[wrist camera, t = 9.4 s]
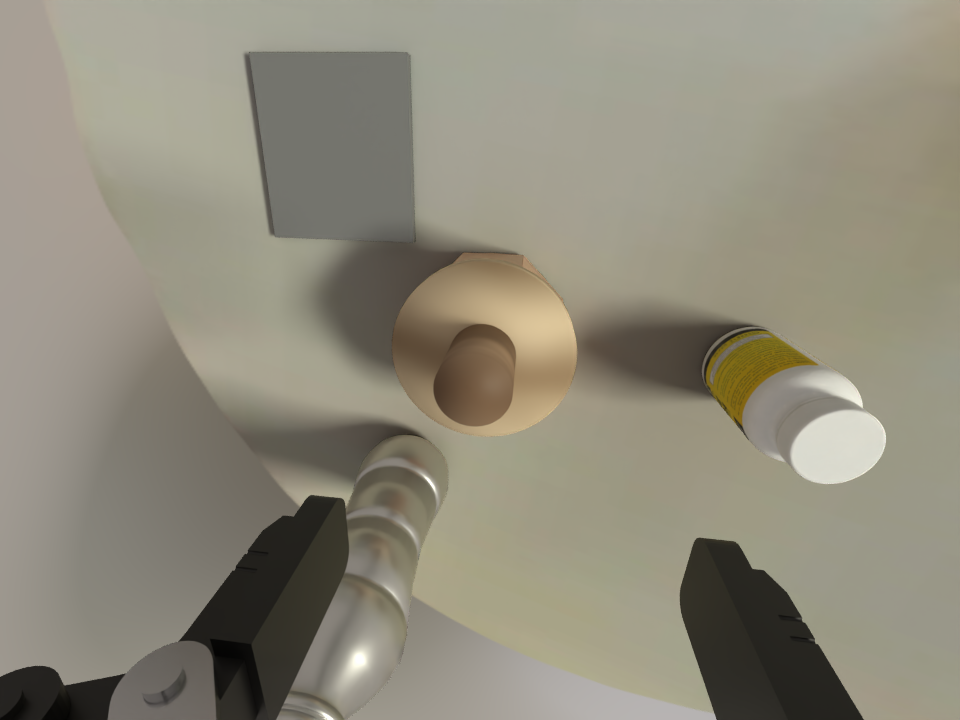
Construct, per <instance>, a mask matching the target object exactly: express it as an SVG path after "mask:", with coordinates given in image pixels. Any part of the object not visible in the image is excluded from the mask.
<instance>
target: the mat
mask: <svg viewBox="0 0 960 720" xmlns="http://www.w3.org/2000/svg"><path fill="white" fill-rule="evenodd" d="M249 56H250V64H251V71H252V78H253V85H254V92H255V99H256V106H257V113H258V120H259V127H260V134H261V142H262V149H263V156H264V163H265V170H266V177H267V184H268V191H269V198H270V205H271V213H272V220H273V227H274V234H275V237H284V238H309V239H334V240H359V241H384V242H409V243H413V242H415V210H414V174H413V139H412V103H411V67H410V55H409V54H408V53H407V52H249Z"/></svg>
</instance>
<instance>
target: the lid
mask: <svg viewBox="0 0 960 720" xmlns="http://www.w3.org/2000/svg"><path fill="white" fill-rule="evenodd" d="M392 355H393V362H394V366H395V370H396V373H397V376H398V378H399V381H400V383H401V385H402V387H403V389H404V390H405V392H406V394H407V395H408V396H409V398H410V399H411V400H412V402H413V403H414V404H415V405H416V406H417V407H418V408H419V409H420V410H421V411H422V412H423V413H425V414H426V415H427V416H428V417H429V418H431V419H432V420H434V421H436V422H437V423H439V424H441V425H443V426H445V427H447V428H449V429H451V430H454V431H457V432H460V433H464V434H468V435H474V436H491V437H492V436H502V435H507V434H512V433H516V432H518V431H521V430H524V429H526V428H528V427H531V426H533V425H535V424H536V423H538V422H539V421H541V420H542V419H544V418H545V417H546V416H547V415H548V414H550V413H551V412H552V411H553V410H554V409H555V408H556V407H557V405H558V404H559V403H560V402H561V400H562V399H563V397H564V396H565V395H566V393H567V391H568V389H569V387H570V385H571V382H572V379H573V376H574V373H575V368H576V363H577V344H576V337H575V333H574V329H573V325H572V321H571V318H570V316H569V314H568V311H567V309H566V307H565V305H564V304H563V302H562V300H561V299H560V297H559V296H558V295H557V293H556V292H555V291H554V290H553V289H552V288H551V287H550V286H549V285H548V284H547V283H546V282H545V281H544V280H543V279H541V278H540V277H539V276H537V275H536V274H535V273H533V272H531V271H529V270H527V269H526V268H524V267H521V266H519V265H516V264H514V263H510V262H506V261H502V260H496V259H471V260H465V261H461V262H457V263H454V264H451V265H449V266H446V267H444V268H442V269H440V270H438V271H437V272H435V273H434V274H432V275H431V276H429V277H428V278H427V279H426V280H425V281H424V282H422V283H421V284H420V285H419V286H418V287H417V288H416V289H415V290H414V291H413V292H412V294H411V295H410V296H409V297H408V299H407V300H406V302H405V303H404V305H403V306H402V308H401V310H400V312H399V314H398V317H397V319H396V323H395V326H394V330H393V337H392Z"/></svg>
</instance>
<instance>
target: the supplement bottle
mask: <svg viewBox="0 0 960 720" xmlns="http://www.w3.org/2000/svg"><path fill="white" fill-rule="evenodd" d="M702 377H703V381H704V383H705V385H706V387H707V389H708V390H709V392H710V393H711V395H712V396H713V397H714V398H715V399H716V401H717V402H718V403H719V404H720V405H721V407H722V408H723V409H724V410H725V411H726V413H727V414H728V415H729V416H730V418H731V419H732V420H733V421H734V422H735V423H736V425H737V426H738V427H739V428H740V430H741V431H742V432H743V433H744V435H745V436H746V437H747V439H748V440H750V442H751V443H752V444H753V445H754V446H755V447H756V448H757V449H758V450H760V451H761V452H762V453H764V454H765V455H767V456H769V457H771V458H774V459H776V460H779V461H784V462H787V463H788V464H789V465H790V466H791V467H792V468H793V470H794V471H795V472H796V473H797V474H799V475H800V476H801V477H803V478H805V479H807V480H809V481H812V482H815V483H822V484H836V483H841V482H846V481H849V480H852V479H854V478H856V477H858V476H860V475H862V474H864V473H865V472H867V471H868V470H869V469H870V468H871V467H873V466H874V465H875V463H876V462H877V461H878V460H879V458H880V457H881V455H882V453H883V451H884V448H885V444H886V434H885V431H884V428H883V426H882V425H881V423H880V422H879V421H878V420H877V419H876V418H875V417H874V416H873V415H871V414H870V413H869V412H867V411H866V410H865V409H863V404H862V399H861V397H860V394H859V392H858V390H857V389H856V387H855V386H854V385H853V384H852V383H851V382H850V381H849V380H848V379H847V378H846V377H844V376H843V375H842V374H840V373H839V372H837V371H836V370H834V369H833V368H831V367H829V366H828V365H826V364H825V363H823V362H822V361H820V360H818V359H817V358H815V357H814V356H812V355H811V354H809V353H808V352H806V351H804V350H803V349H801V348H800V347H799V346H797V345H795V344H794V343H792V342H791V341H789V340H788V339H786V338H785V337H783V336H781V335H779V334H778V333H776V332H774V331H772V330H770V329H766V328H762V327H745V328H740V329H737V330H734V331H731V332H729V333H727V334H725V335H724V336H722V337H721V338H720V339H718V340H717V341H716V342H715V343H714V344H713V345H712V346H711V348H710V349H709V350H708V352H707V354H706V356H705V358H704V361H703V366H702Z"/></svg>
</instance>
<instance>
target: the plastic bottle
mask: <svg viewBox="0 0 960 720" xmlns="http://www.w3.org/2000/svg"><path fill="white" fill-rule="evenodd" d="M447 491H448V466H447V463H446V460H445V458H444V456H443V455H442V453H441V452H440V451H439V450H438V449H437V448H436V447H435V446H434V445H433V444H432V443H430V442H429V441H427V440H425V439H423V438H421V437H417V436H412V435H398V436H393V437H390V438H387V439H385V440H383V441H382V442H380V443H379V444H378V445H377V446H376V447H375V448H374V449H373V450H372V451H371V452H370V453H369V454H368V455H367V456H366V457H365V459H364V460H363V462H362V464H361V467H360V469H359V472H358V475H357V477H356V481H355V485H354V490H353V493H352V495H351V497H350V500H349V502H348V504H347V507H346V519H347V529H348V540H349V557H348V563H347V567H346V570H345V573H344V576H343V578H342V580H341V582H340V584H339V587H338V589H337V591H336V593H335V595H334V597H333V599H332V601H331V604H330V606H329V608H328V610H327V612H326V614H325V616H324V619H323V621H322V623H321V625H320V627H319V629H318V631H317V634H316V636H315V638H314V640H313V642H312V644H311V646H310V649H309V651H308V653H307V655H306V657H305V659H304V661H303V663H302V666H301V668H300V670H299V672H298V674H297V676H296V678H295V681H294V683H293V685H292V687H291V689H290V691H289V693H288V696H287V698H286V700H285V702H284V704H283V706H282V708H281V711H280V713H279V715H278V717H277V719H276V720H347V719H348V718H350V717H351V716H352V715H353V714H355V713H356V712H357V711H359V710H360V709H361V708H362V707H364V706H365V705H366V704H367V703H368V702H369V701H370V700H371V699H372V698H373V697H374V696H375V695H376V694H377V693H378V692H379V691H380V690H381V689H382V688H384V687H385V686H386V684H387V683H388V681H389V680H390V678H391V676H392V675H393V673H394V671H395V670H396V668H397V666H398V664H399V663H400V661H401V658H402V655H403V650H404V646H405V641H406V636H407V628H408V620H409V612H410V603H411V595H412V587H413V582H414V578H415V573H416V569H417V565H418V560H419V556H420V551H421V548H422V545H423V543H424V540H425V538H426V536H427V533H428V531H429V528H430V526H431V523H432V521H433V519H434V518H435V516H436V515H437V513H438V511H439V509H440V508H441V505H442V503H443V501H444V499H445V497H446V494H447Z"/></svg>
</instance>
